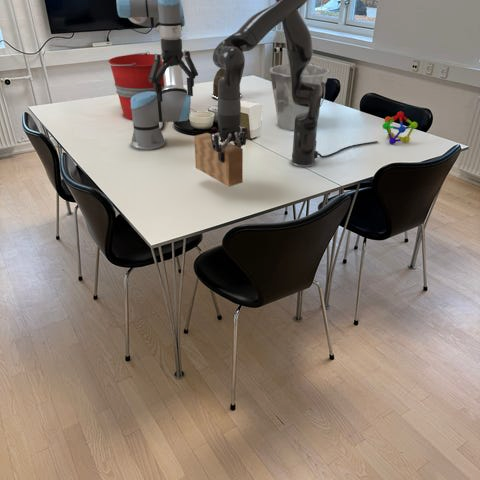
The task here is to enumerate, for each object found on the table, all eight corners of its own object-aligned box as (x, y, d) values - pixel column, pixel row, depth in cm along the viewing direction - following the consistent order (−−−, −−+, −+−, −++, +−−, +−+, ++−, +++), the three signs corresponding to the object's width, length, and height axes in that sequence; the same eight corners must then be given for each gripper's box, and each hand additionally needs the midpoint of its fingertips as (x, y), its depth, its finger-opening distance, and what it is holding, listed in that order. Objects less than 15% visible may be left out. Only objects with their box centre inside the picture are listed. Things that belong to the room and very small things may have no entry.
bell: (227, 105, 294) (202, 96, 282) (238, 66, 289) (213, 55, 277) (243, 108, 280) (217, 98, 268) (255, 66, 275) (229, 55, 263)
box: (195, 167, 168) (193, 135, 161) (208, 164, 171) (207, 132, 164) (229, 186, 154) (228, 152, 147) (242, 182, 157) (242, 148, 150)
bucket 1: (122, 105, 264) (115, 51, 248) (181, 105, 263) (177, 51, 248) (106, 122, 235) (96, 62, 219) (171, 123, 234) (167, 63, 218)
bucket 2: (296, 138, 215) (301, 78, 201) (255, 124, 234) (256, 68, 219) (335, 125, 232) (342, 70, 217) (294, 113, 251) (297, 61, 236)
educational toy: (377, 146, 209) (379, 114, 202) (384, 138, 219) (386, 107, 211) (411, 149, 202) (415, 116, 195) (417, 141, 212) (420, 109, 204)
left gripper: (145, 42, 150) (151, 105, 161) (205, 36, 163) (207, 95, 175) (134, 39, 155) (141, 101, 166) (194, 34, 168) (197, 91, 180)
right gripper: (217, 118, 138) (219, 168, 147) (253, 110, 145) (252, 158, 154) (204, 112, 143) (206, 161, 152) (239, 105, 150) (239, 152, 159)
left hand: (175, 98), depth 171 cm, fingers open, 13 cm apart
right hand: (229, 159), depth 153 cm, fingers closed on box, 6 cm apart
